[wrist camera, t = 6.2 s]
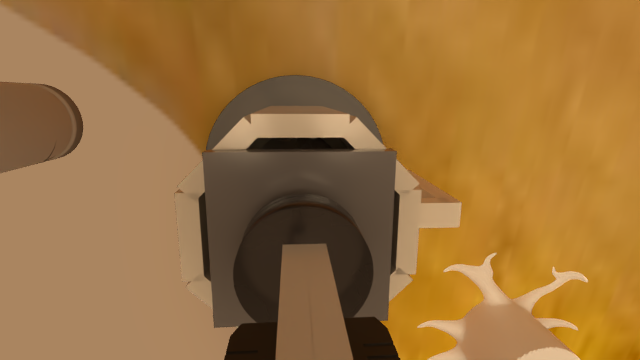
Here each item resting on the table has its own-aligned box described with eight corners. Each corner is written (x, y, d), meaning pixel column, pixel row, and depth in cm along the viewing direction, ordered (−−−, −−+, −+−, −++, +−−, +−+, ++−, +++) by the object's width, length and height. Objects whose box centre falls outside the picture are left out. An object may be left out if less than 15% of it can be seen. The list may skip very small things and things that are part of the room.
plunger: (250, 130, 28) (193, 178, 12) (342, 130, 29) (409, 175, 12) (254, 218, 30) (207, 367, 13) (340, 216, 30) (398, 358, 14)
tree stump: (502, 430, 42) (550, 506, 34) (371, 356, 39) (391, 422, 31) (619, 299, 39) (700, 349, 32) (488, 206, 36) (543, 237, 28)
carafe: (230, 105, 30) (160, 114, 14) (396, 106, 32) (508, 115, 15) (236, 228, 33) (182, 357, 17) (389, 225, 34) (480, 343, 18)
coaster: (201, 74, 31) (198, 74, 30) (386, 76, 32) (389, 76, 31) (212, 250, 34) (210, 254, 33) (379, 246, 35) (381, 250, 34)
